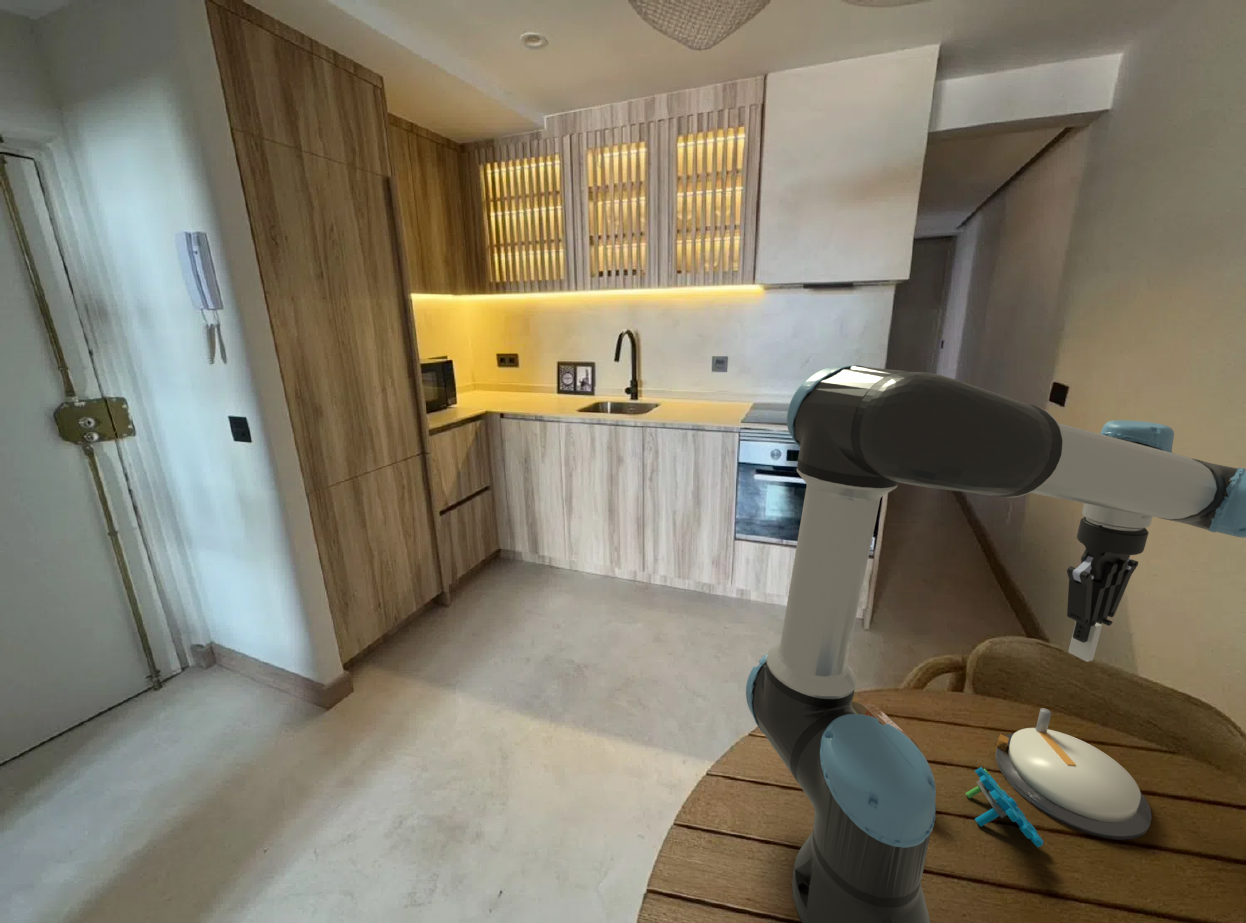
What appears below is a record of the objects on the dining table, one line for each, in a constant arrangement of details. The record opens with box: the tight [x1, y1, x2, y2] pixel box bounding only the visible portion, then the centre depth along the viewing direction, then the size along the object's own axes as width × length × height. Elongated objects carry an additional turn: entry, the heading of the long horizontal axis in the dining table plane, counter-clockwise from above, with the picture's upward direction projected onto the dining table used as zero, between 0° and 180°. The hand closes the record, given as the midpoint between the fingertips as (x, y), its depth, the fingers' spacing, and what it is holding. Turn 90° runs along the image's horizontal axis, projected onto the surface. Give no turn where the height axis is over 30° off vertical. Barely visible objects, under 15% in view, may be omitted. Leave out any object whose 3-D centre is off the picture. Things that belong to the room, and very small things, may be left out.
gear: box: [965, 766, 1044, 848], centre depth 71 cm, size 11×6×10 cm
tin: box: [852, 700, 923, 754], centre depth 80 cm, size 15×3×8 cm, turn 15°
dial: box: [1008, 707, 1141, 822], centre depth 76 cm, size 15×15×6 cm
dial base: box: [995, 732, 1153, 841], centre depth 77 cm, size 18×18×2 cm
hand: (1080, 655), depth 82 cm, fingers closed
